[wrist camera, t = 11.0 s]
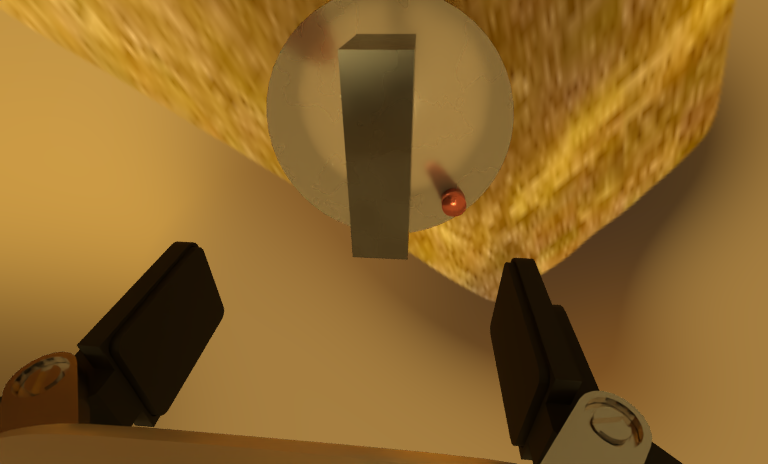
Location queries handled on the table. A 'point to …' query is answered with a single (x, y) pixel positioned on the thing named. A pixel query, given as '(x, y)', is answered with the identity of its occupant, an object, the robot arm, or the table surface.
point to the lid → (389, 116)
